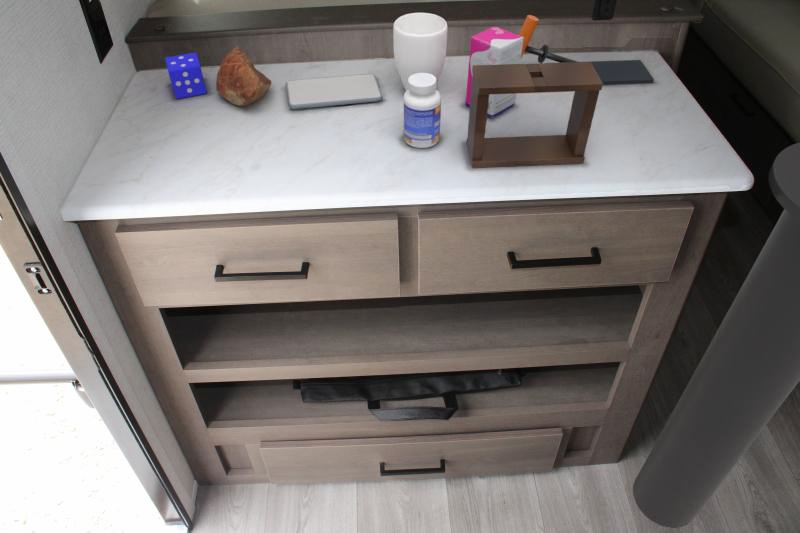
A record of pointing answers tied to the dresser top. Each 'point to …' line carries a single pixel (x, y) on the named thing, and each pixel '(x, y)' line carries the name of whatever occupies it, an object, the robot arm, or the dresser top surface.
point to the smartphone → (333, 91)
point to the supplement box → (494, 62)
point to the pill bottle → (422, 111)
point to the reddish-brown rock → (240, 79)
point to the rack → (532, 81)
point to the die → (186, 75)
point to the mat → (622, 72)
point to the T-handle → (542, 54)
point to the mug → (419, 45)
